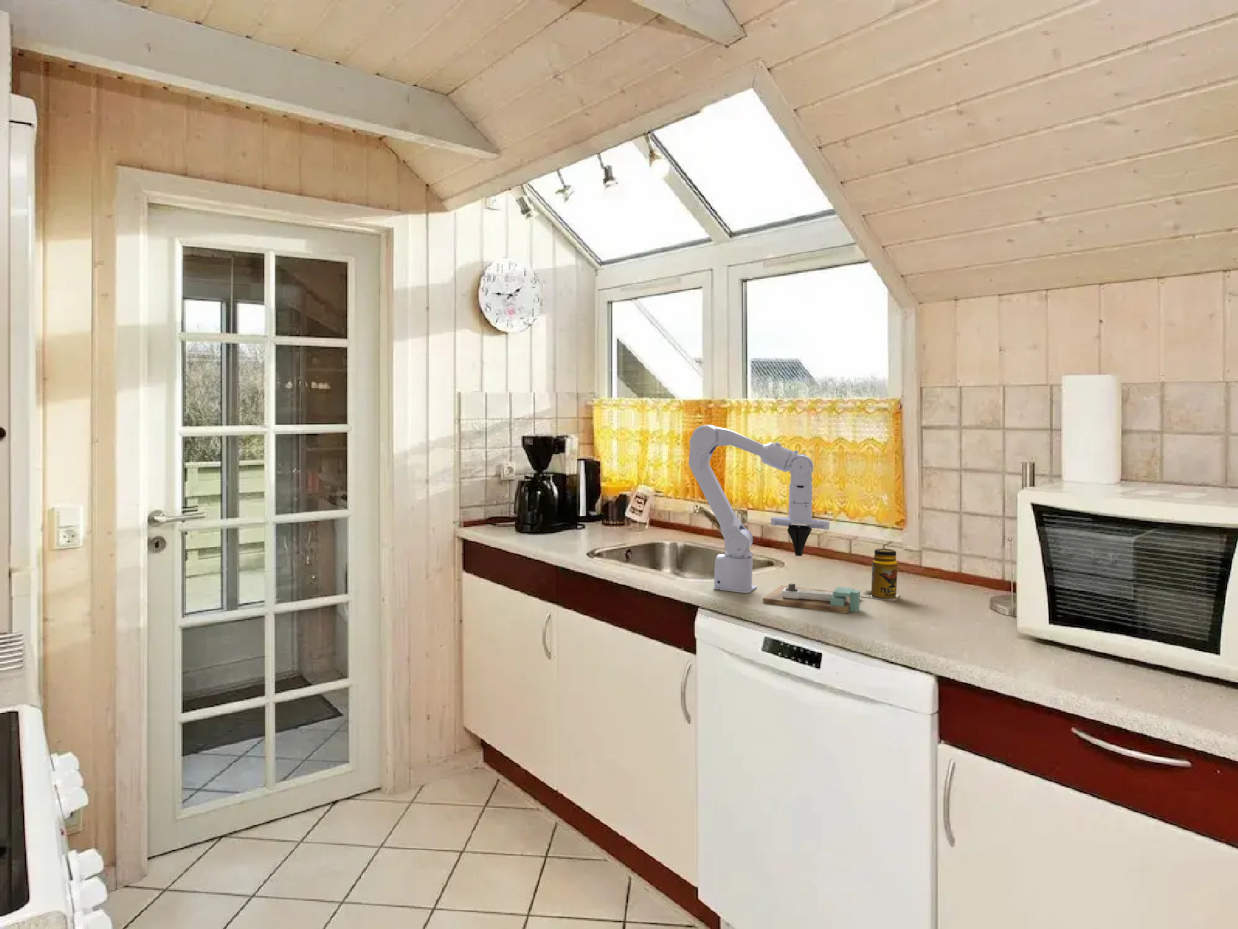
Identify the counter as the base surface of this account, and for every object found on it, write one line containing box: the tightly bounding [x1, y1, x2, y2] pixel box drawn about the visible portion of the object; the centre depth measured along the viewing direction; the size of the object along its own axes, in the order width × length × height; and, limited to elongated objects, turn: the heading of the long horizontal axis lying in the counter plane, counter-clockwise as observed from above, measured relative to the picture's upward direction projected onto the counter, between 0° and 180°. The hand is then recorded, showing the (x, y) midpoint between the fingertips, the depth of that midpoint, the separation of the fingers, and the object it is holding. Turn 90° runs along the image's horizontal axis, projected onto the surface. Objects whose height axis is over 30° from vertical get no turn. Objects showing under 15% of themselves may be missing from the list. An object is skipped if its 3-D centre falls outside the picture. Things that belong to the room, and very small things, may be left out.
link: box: [782, 588, 847, 603], centre depth 189 cm, size 15×4×2 cm, turn 70°
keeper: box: [830, 586, 861, 613], centre depth 185 cm, size 6×6×4 cm
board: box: [762, 583, 850, 614], centre depth 193 cm, size 20×16×4 cm
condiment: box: [860, 548, 900, 602], centre depth 199 cm, size 7×8×12 cm
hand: (798, 555), depth 200 cm, fingers closed
